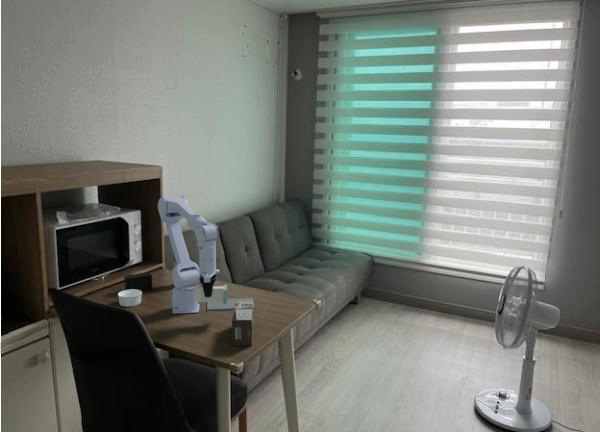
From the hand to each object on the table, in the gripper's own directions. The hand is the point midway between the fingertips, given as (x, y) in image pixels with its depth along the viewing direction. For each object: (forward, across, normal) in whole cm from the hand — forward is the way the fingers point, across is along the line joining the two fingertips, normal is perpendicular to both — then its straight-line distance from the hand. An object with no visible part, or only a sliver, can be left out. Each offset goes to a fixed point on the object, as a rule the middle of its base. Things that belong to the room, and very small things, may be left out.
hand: (208, 295), depth 164 cm
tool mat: (+10, +15, -8) cm, 20 cm away
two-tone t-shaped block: (+2, 0, 0) cm, 2 cm away
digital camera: (+10, +35, +30) cm, 48 cm away
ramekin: (+10, +21, +31) cm, 39 cm away
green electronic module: (+10, +40, +13) cm, 43 cm away
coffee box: (+6, -4, -13) cm, 14 cm away
